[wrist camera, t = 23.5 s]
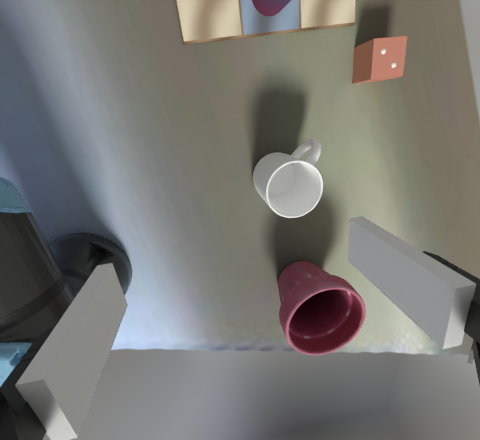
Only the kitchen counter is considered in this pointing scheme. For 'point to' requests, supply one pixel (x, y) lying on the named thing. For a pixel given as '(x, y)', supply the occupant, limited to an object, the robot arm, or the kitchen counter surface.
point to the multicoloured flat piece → (258, 18)
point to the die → (379, 59)
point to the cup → (269, 6)
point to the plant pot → (318, 309)
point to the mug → (290, 180)
